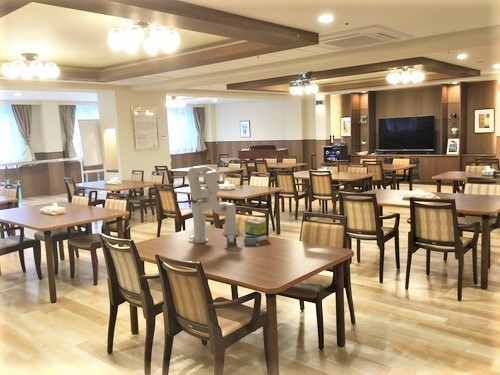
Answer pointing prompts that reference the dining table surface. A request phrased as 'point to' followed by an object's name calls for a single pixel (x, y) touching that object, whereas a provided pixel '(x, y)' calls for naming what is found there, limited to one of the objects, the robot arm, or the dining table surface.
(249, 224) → the tea box
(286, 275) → the dining table surface
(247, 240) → the port
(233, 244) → the holster
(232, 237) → the plug
